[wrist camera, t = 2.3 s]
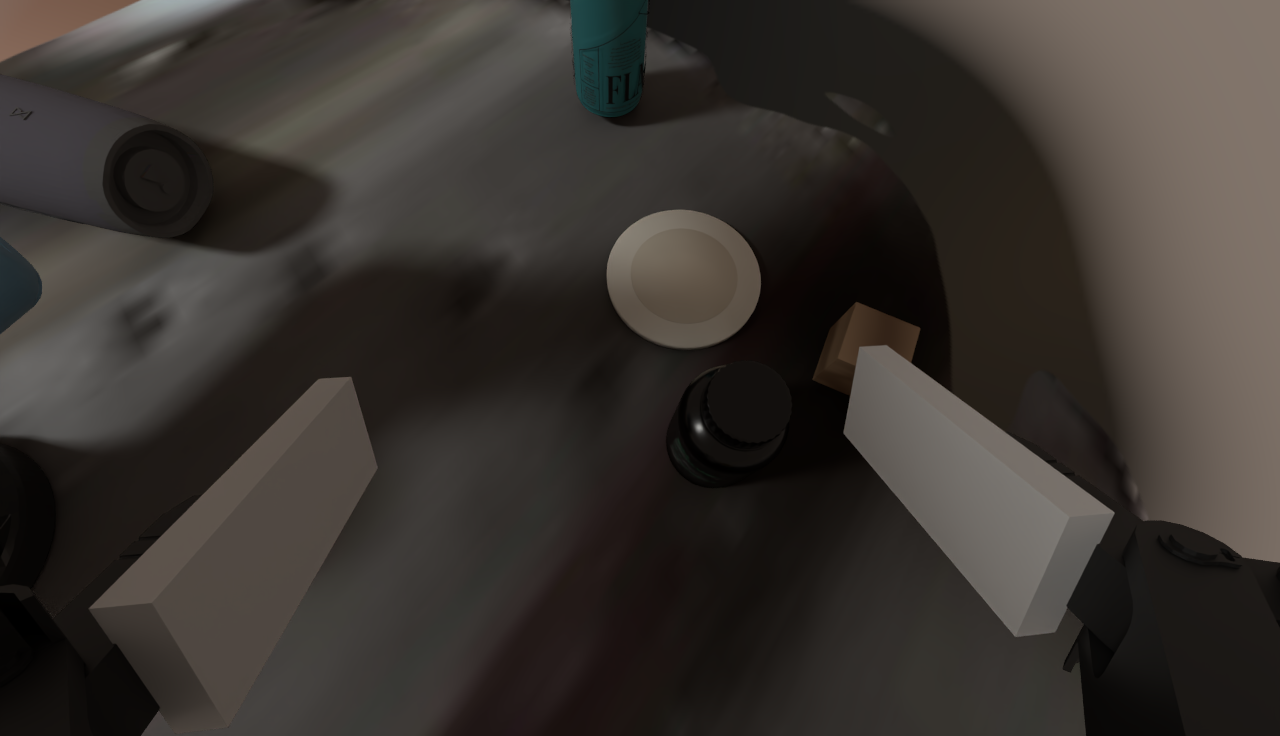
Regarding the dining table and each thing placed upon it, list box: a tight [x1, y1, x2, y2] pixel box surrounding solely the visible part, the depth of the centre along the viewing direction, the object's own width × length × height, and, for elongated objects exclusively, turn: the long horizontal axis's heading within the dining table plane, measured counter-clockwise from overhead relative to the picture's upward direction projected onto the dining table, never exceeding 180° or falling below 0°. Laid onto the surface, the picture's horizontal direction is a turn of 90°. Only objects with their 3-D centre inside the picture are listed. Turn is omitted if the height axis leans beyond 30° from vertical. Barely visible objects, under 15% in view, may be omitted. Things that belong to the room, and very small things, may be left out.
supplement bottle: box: [666, 360, 792, 488], centre depth 34 cm, size 7×7×12 cm
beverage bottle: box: [570, 0, 649, 117], centre depth 41 cm, size 6×7×20 cm
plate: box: [607, 210, 761, 350], centre depth 44 cm, size 13×13×1 cm
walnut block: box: [812, 302, 920, 396], centre depth 40 cm, size 5×5×5 cm
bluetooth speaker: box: [0, 74, 213, 238], centre depth 39 cm, size 23×9×10 cm, turn 75°
